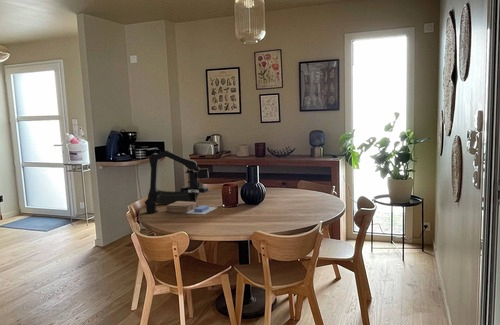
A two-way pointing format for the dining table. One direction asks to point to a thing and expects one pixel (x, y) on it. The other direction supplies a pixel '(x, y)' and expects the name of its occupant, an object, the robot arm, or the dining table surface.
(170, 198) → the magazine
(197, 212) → the mat
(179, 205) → the board
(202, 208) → the card box
